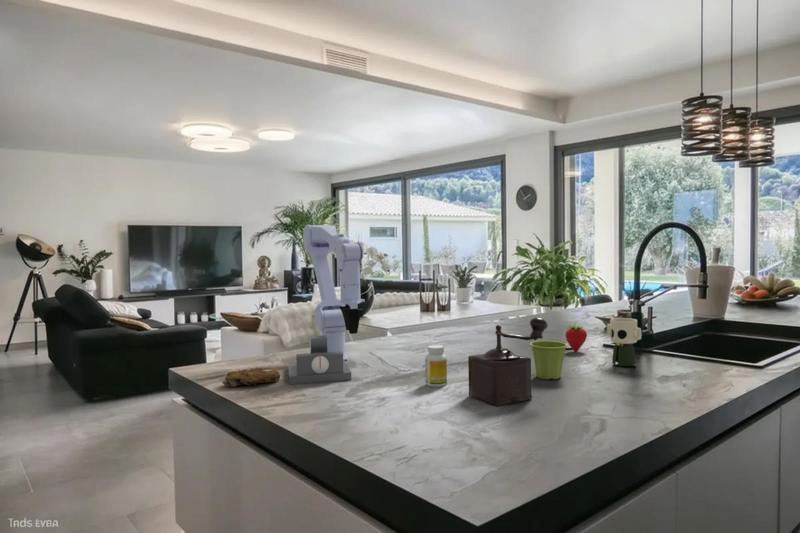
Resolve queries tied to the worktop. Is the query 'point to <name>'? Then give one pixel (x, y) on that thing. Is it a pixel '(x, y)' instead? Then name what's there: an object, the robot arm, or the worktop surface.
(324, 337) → the block
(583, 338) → the strawberry
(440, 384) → the supplement bottle
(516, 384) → the manual coffee grinder
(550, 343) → the plant pot
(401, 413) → the worktop surface
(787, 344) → the worktop surface
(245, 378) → the decorative rock
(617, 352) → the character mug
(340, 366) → the scale
